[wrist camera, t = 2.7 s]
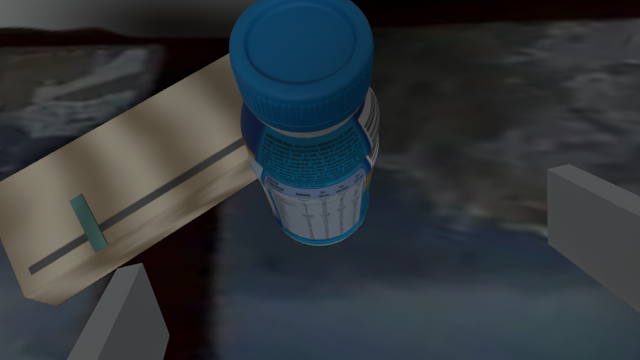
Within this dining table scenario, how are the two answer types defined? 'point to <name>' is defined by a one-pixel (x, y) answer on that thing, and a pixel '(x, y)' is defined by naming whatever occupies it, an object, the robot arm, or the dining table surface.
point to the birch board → (124, 185)
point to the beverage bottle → (308, 112)
